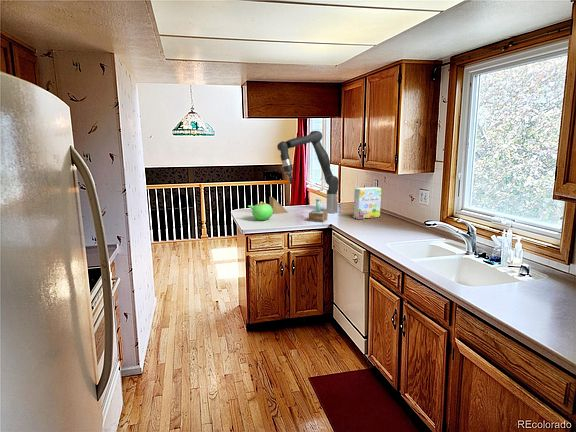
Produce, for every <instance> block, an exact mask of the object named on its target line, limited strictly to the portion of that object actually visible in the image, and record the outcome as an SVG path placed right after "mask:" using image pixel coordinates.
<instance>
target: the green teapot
mask: <svg viewBox="0 0 576 432" xmlns="http://www.w3.org/2000/svg"><path fill="white" fill-rule="evenodd" d="M247 207H248V208H249V209H251V214H252V217H253V218H254V219H256V220H258V221H265V220H268V219H270V218H271V217H272V216H273V215H274V214H273V209H272V207H271V206H270V203H269V204H268V203H266V202H263V201H260V202H259V203H257V204H255V205H247Z"/></svg>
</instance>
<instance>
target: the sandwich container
mask: <svg viewBox="0 0 576 432" xmlns="http://www.w3.org/2000/svg"><path fill="white" fill-rule="evenodd" d="M268 199H269V205H270V206H271V207H272V209H273V214H272V215H277V214H287V213H289V211H287V209H285V207H284V206H282V204H280V203H279V201H277V199H275V198H274V196H269V198H268Z"/></svg>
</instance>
